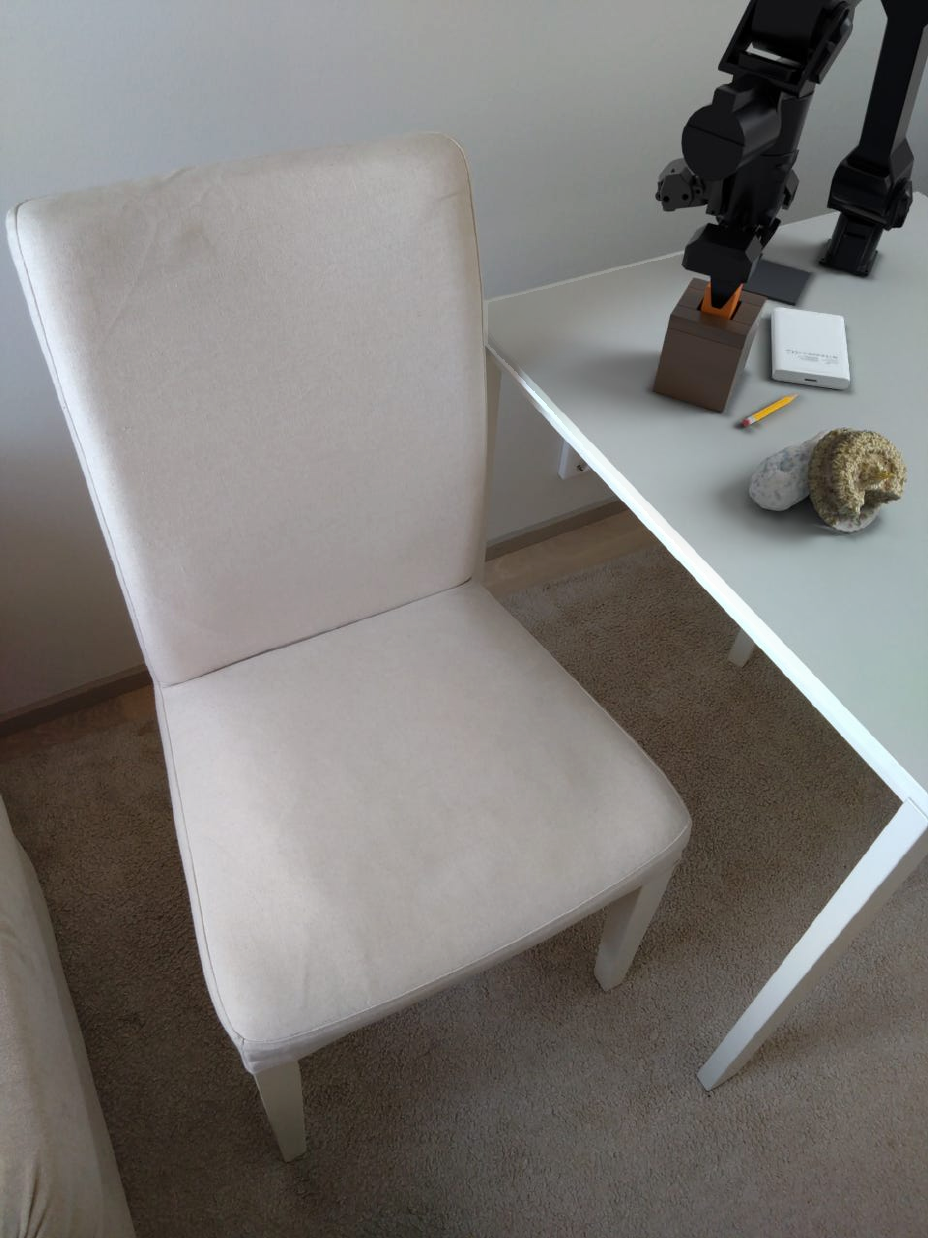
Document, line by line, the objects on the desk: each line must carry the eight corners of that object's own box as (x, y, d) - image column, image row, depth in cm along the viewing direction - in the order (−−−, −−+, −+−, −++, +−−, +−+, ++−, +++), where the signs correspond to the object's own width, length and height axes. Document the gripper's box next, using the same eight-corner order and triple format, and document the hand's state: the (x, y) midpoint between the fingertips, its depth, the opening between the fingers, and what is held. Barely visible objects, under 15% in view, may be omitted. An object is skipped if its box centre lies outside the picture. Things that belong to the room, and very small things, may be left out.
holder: (675, 352, 104) (693, 276, 97) (743, 373, 102) (767, 297, 95) (652, 390, 100) (670, 314, 92) (722, 413, 98) (746, 336, 90)
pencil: (741, 423, 96) (743, 418, 96) (794, 394, 100) (796, 389, 99) (747, 427, 96) (749, 422, 95) (799, 398, 99) (801, 393, 99)
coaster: (748, 258, 118) (749, 255, 118) (810, 274, 116) (810, 272, 116) (731, 287, 113) (732, 285, 113) (795, 305, 111) (796, 303, 111)
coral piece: (786, 453, 85) (828, 442, 80) (859, 413, 88) (905, 399, 83) (826, 550, 86) (870, 544, 81) (896, 506, 89) (943, 498, 84)
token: (706, 307, 96) (715, 272, 93) (733, 315, 95) (744, 280, 92) (697, 321, 94) (706, 286, 91) (725, 329, 94) (735, 294, 90)
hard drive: (839, 327, 109) (846, 390, 101) (769, 318, 109) (771, 379, 102) (844, 315, 107) (851, 378, 100) (773, 306, 108) (775, 367, 100)
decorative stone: (783, 536, 86) (801, 498, 82) (734, 494, 90) (748, 455, 86) (876, 485, 91) (896, 446, 87) (825, 447, 95) (843, 408, 91)
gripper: (708, 84, 88) (674, 238, 100) (644, 162, 78) (615, 323, 90) (822, 109, 85) (773, 264, 98) (772, 194, 75) (724, 355, 87)
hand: (721, 299), depth 93 cm, fingers closed on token, 3 cm apart
